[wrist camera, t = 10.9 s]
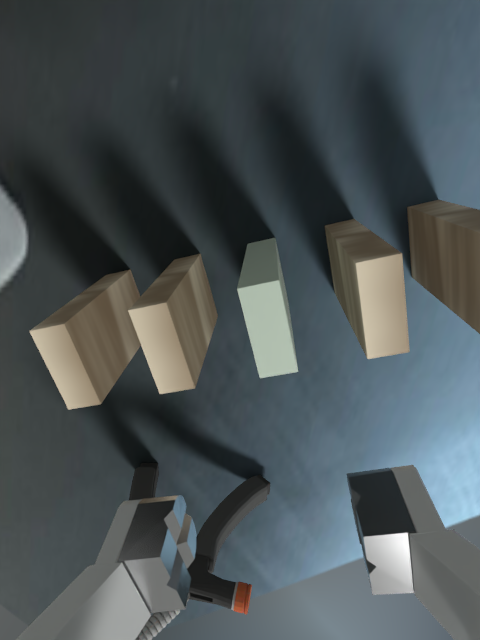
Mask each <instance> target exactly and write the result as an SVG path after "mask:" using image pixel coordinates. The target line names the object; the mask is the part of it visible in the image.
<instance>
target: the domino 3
mask: <svg viewBox="0 0 480 640" xmlns="http://www.w3.org/2000/svg"><path fill="white" fill-rule="evenodd" d="M237 290H238V294H239V298H240V302H241V306H242V310H243V314H244V318H245V322H246V326H247V330H248V333H249V337H250V341H251V345H252V349H253V353H254V357H255V361H256V365H257V369H258V373H259V377H260V378H264V377H270V376H276V375H282V374H288V373H294V372H298V367H297V360H296V353H295V346H294V339H293V332H292V325H291V318H290V311H289V304H288V298H287V294H286V289H285V284H284V279H283V274H282V269H281V264H280V259H279V254H278V249H277V244H276V239H275V238H271V239H266V240H262V241H258V242H253V243H249V244H247V248H246V253H245V257H244V261H243V266H242V270H241V274H240V279H239V283H238V287H237Z"/></svg>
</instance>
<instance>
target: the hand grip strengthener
mask: <svg viewBox="0 0 480 640" xmlns="http://www.w3.org/2000/svg"><path fill="white" fill-rule="evenodd" d="M158 476H159V471H158V463H141V465H140V467H138V468H136V469H135V472H134V476H133V481H132V486H131V491H130V498H129V501H130V500H140V499H147V498H155V492H156V486H157V480H158ZM269 492H270V482H268V481H267V480H266V479H265V478H263V477H262V476H261V475H258V476H253V477H251V478H249V479H248V480H246V481H245V482H243V483H242V484H241V485H239V486H238V487H237V488H236V489H235V490H234V491H233V492H232V493H230V494H229V495H228V496H227V497H226V498H225V499H224V500H223V501H222V502H221V503H220V504H219V506H218V507H217V508H216V509H215V510H214V512H213V513H212V514H211V515H210V516H209V518H208V519H207V520H206V522H205V523H204V525H203V526H202V528H201V530H200V532H199V534H198V535H197V537H196V553H195V559H194V561H193V562H192V563H191V564H190V566H189V567H188V568H187V570H188V573H189V575H190V577H191V582H190V587H189V593H188V598H187V601H188V600H189V599H192V600H197V601H202V602H207V603H212V604H217V605H220V606H223V607H226V608H229V609H231V608H232V610H234V611H236V612H240V613H243V612H244V614H247V613H248V607H249V601H250V595H251V587H252V585H251V584H249V585H248V584H247V583H243V582H232V581H227V580H224V579H221V578H219V577H217V576H215V575H213V574H211V573H212V572H213V571H214V566H215V562H216V558H217V554H218V552H219V550H220V548H221V546H222V544H223V543H224V541H225V540H226V538H227V537H228V536H229V535H230V533H231V532H232V531H233V529H234V528H235V527H236V526H237V525H238V524H239V522H240V521H241V520H242V519H243V518H244V517H245V516H246V515H247V514H248V513H249V512H250V511H252V510H253V509H254V508H255V507H257V506H258V505H259V504H261V503H262V502H264V501H266V500H267V495H268V494H269ZM179 613H180V610H173V611H164V612H155V613H154V614H153V616H151V617H150V618H149V619H148V621H147V622H146V624H145V625H144V627H143V629H142V630H141V632H140V633H139V635H138V636H137V638H136V639H135V640H139V639H140V640H152V636H153V637H155V636H156V635H157V632H160V631H161V630H162V628H164V627H166V624H167V623H170V622H171V619H174V618H175V615H178V614H179ZM162 615H163V616H162ZM153 624H154V625H153ZM144 635H145V636H144Z"/></svg>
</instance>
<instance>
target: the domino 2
mask: <svg viewBox="0 0 480 640" xmlns="http://www.w3.org/2000/svg"><path fill="white" fill-rule="evenodd" d="M128 312H129V314H130V317H131V320H132V322H133V325H134V328H135V330H136V333H137V335H138V338H139V341H140V343H141V346H142V349H143V351H144V354H145V356H146V359H147V362H148V364H149V367H150V370H151V372H152V375H153V378H154V380H155V383H156V385H157V388H158V391H159V393H160V394H164V393H170V392H176V391H182V390H188V389H194V388H195V387H196V384H197V380H198V377H199V374H200V371H201V368H202V364H203V361H204V358H205V355H206V352H207V349H208V345H209V342H210V339H211V336H212V333H213V329H214V326H215V323H216V320H217V317H218V314H217V311H216V307H215V304H214V300H213V297H212V293H211V290H210V286H209V283H208V279H207V276H206V272H205V269H204V265H203V262H202V258H201V254H197V255H192V256H188V257H183V258H179V259H175V260H174V261H173V262H172V263H171V264H170V265H169V266H168V267H167V268H166V269H165V270H164V271H163V273H162V274H161V275H160V276H159V277H158V278H157V279H156V280H155V281H154V282H153V284H152V285H151V286H150V287H149V288H148V289H147V290H146V291H145V292H144V293H143V295H142V296H141V297H140V298H139V299H138V300H137V301H136V302H135V303H134V304H133V306H132V307H131V308H130V309H129V310H128Z"/></svg>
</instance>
